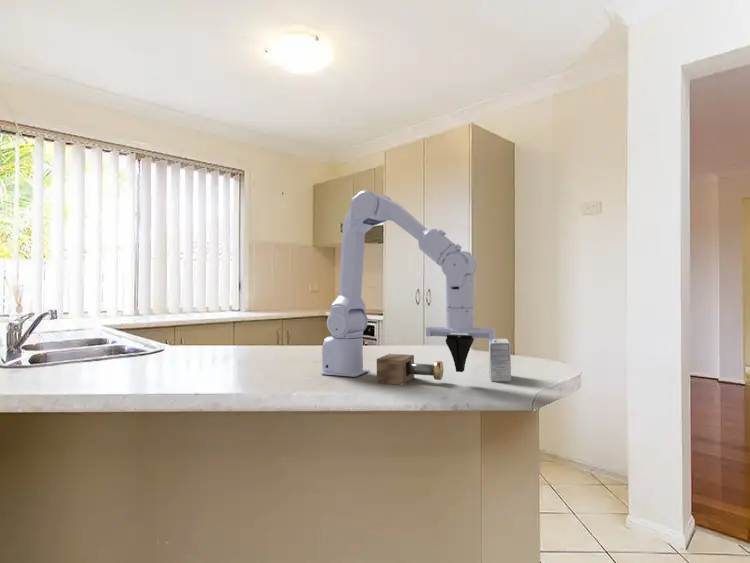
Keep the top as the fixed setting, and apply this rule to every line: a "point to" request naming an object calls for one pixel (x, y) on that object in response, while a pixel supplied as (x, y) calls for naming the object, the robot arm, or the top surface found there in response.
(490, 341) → the medicine box
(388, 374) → the block
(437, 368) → the brass door knob
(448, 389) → the top surface
